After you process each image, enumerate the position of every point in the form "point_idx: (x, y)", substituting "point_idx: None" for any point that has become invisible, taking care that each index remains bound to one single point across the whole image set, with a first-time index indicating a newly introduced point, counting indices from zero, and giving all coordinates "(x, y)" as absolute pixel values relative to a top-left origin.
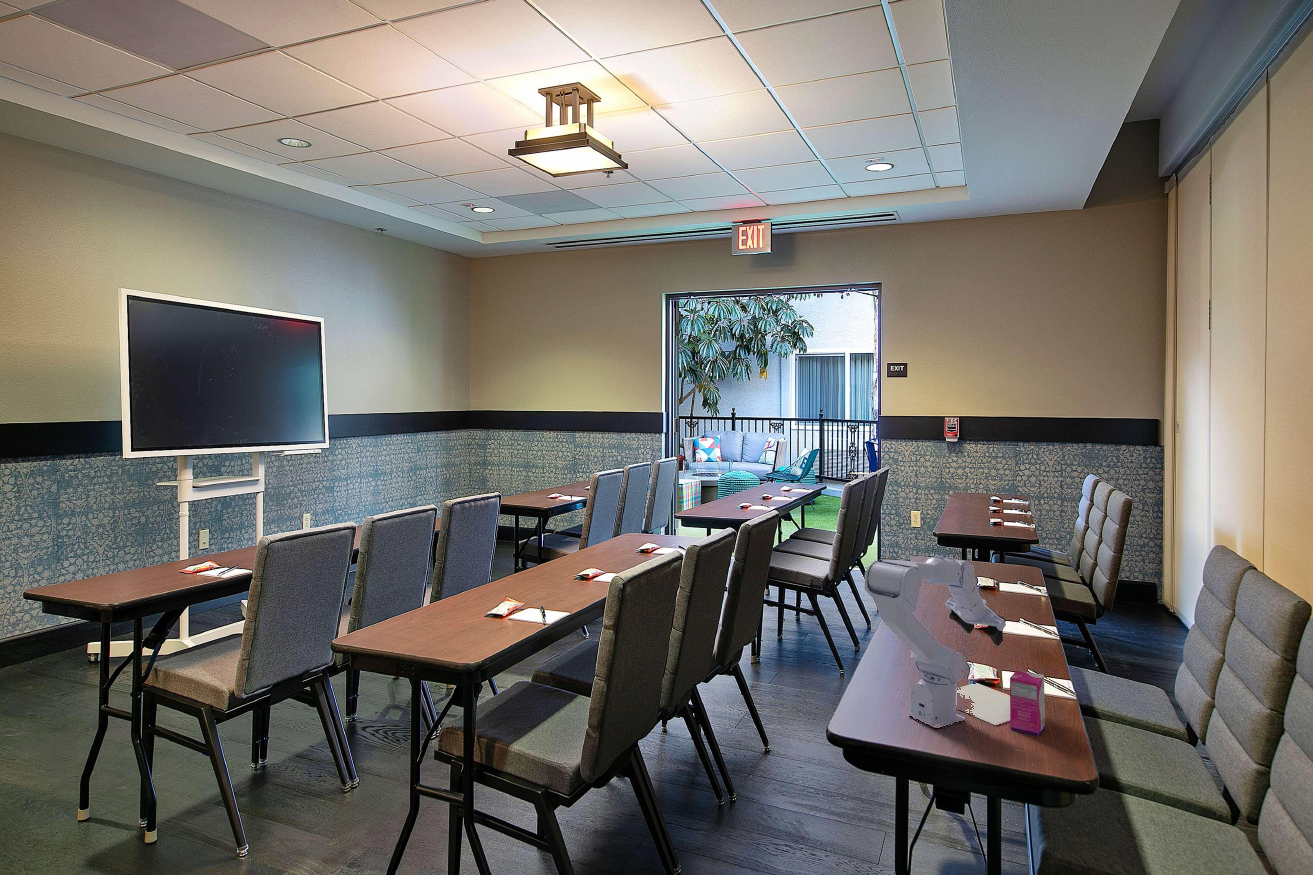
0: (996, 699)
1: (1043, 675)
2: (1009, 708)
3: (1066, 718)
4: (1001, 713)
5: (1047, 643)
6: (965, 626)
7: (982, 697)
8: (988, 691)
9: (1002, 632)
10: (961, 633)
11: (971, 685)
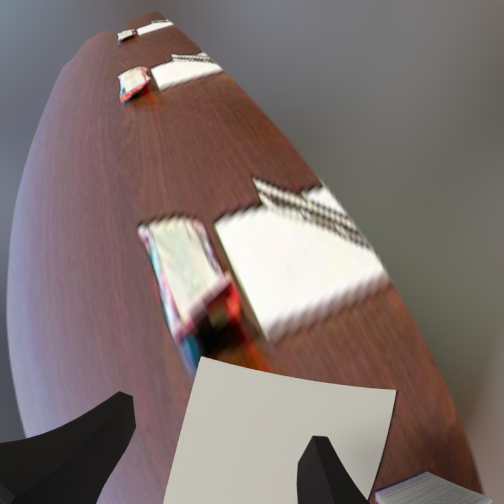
0: (292, 431)
1: (491, 501)
2: (340, 456)
3: (439, 392)
4: None
5: (229, 82)
6: (108, 471)
7: (259, 444)
8: (252, 394)
9: (352, 483)
10: (109, 126)
11: (201, 384)
